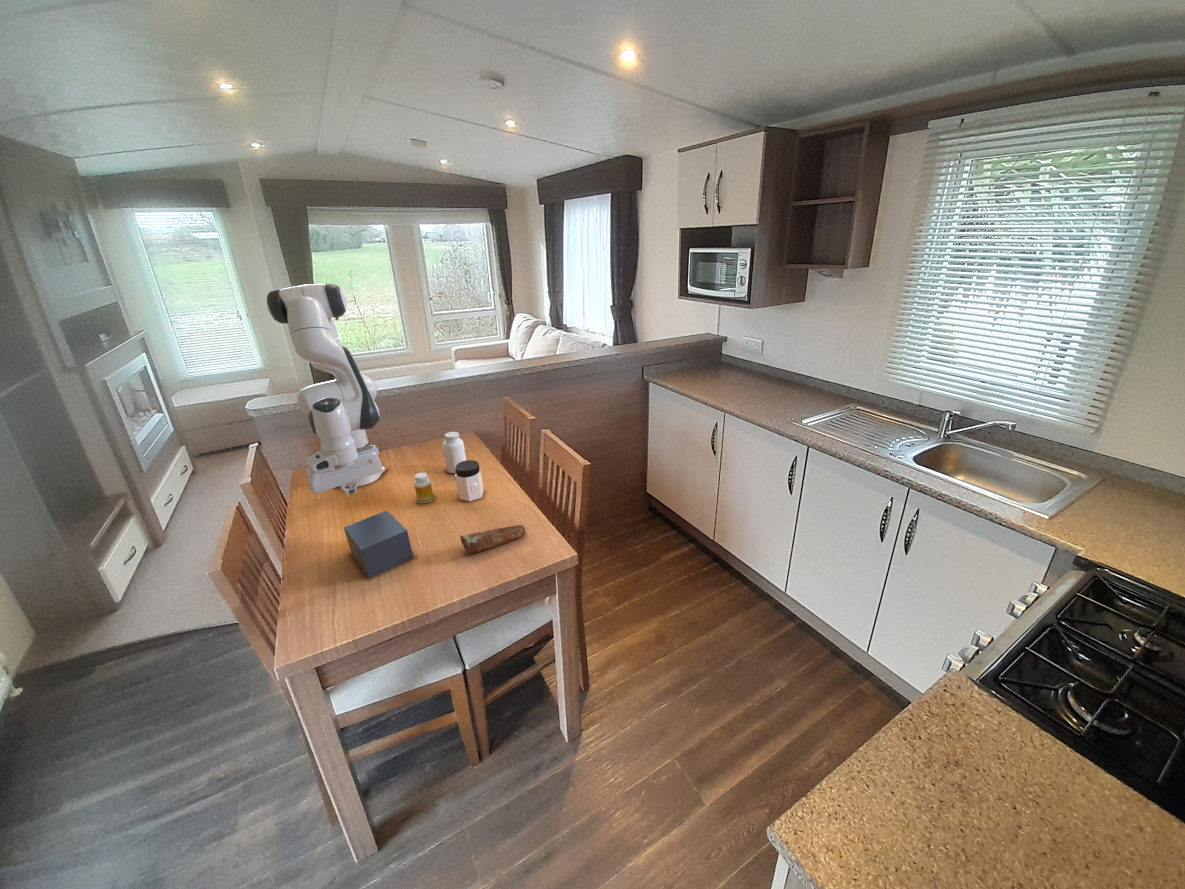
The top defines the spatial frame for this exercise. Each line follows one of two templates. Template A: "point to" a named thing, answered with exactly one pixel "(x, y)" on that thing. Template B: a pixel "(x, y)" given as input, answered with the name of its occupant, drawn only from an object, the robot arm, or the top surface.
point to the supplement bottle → (423, 488)
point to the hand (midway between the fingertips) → (351, 493)
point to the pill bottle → (453, 451)
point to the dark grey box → (378, 543)
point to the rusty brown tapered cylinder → (491, 538)
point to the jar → (469, 480)
